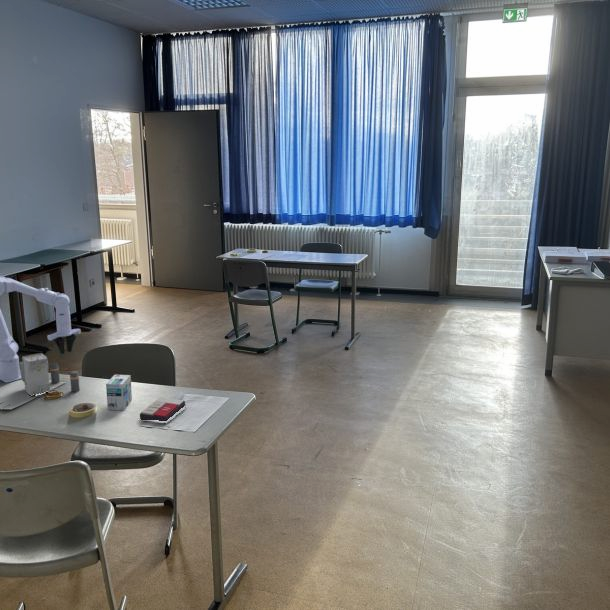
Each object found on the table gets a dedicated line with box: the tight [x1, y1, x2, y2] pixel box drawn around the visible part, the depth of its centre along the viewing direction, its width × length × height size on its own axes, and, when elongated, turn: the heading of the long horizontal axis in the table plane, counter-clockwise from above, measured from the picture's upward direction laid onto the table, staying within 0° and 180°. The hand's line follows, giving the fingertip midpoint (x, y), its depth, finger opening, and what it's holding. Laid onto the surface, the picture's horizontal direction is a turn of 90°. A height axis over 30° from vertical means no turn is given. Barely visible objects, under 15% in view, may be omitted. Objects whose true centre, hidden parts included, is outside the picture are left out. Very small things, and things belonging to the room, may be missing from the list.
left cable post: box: [49, 362, 61, 384], centre depth 256 cm, size 3×3×8 cm
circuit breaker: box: [19, 352, 51, 396], centre depth 247 cm, size 8×14×15 cm, turn 40°
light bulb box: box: [105, 374, 133, 411], centre depth 234 cm, size 11×7×11 cm, turn 0°
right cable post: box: [69, 370, 80, 393], centre depth 248 cm, size 3×3×8 cm
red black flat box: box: [139, 396, 186, 421], centre depth 227 cm, size 11×4×15 cm
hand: (65, 352), depth 263 cm, fingers open, 3 cm apart
